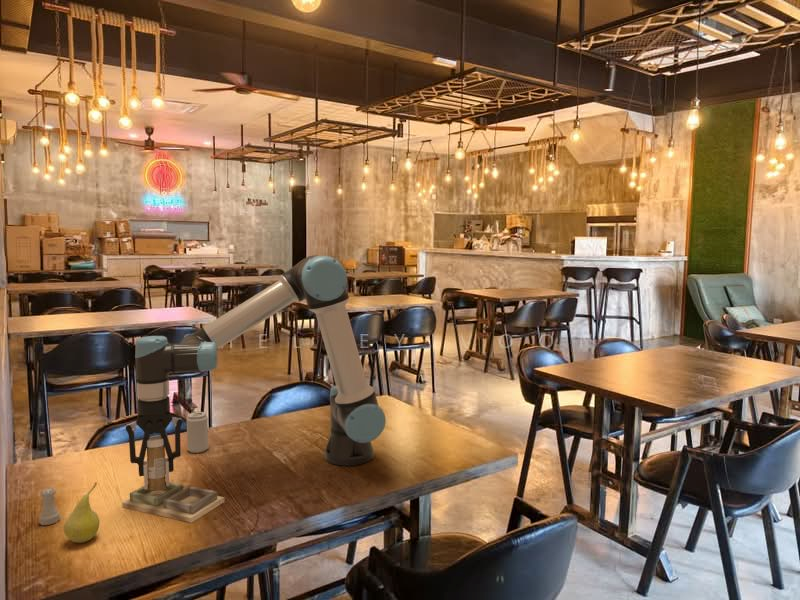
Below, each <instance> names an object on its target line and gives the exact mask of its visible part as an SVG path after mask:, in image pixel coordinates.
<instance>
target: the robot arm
mask: <svg viewBox="0 0 800 600" xmlns="http://www.w3.org/2000/svg"><path fill="white" fill-rule="evenodd" d="M347 283H348V275H347V271H346V269H345V267H344V266H343V265H342V264H341V262H339V261H338V260H337V259H335V258H334V257H333V256H332V257H331V256H328V255H322V254H321V255H309V256H307V257H305V258H303V259H302V260H300V261H299V262H298V263H296V264H295V265H294V266H292V267H291V268H289V269H288V270H287V271H285V272H284V273H282V274H280V276H279V279H278V280H277V281H276V282H274V283H273V284H271V285H269V286H268V287H266V288H265V289H263V290H261V291H260V292H258V293H256V294H255V295H253V296H252V297H250V298H248V299H246V300H245V301H244V302H242V303H240V304H238V305H237V306H236V307H234V308H232V309H231V310H228V311H227V312H225V313H224V314H223V315H220V316H219V317H217V318H216V319H214V320H212V322H210V323H208V324H206V325H204V326H203V327H202V328H200V329H198V330H197V331H194V332H193V333H189V334H187V335H186V336H184V337H183V338H182V340H181V341H180V342H179V343H169V341H168V337H166V336H164V335H150V336H149V335H148V336H144V337H143V336H142V337H139V338H137V340H136V341H135V351H134V352H135V355H134V359H135V360H134V361H135V372H136V373H135V375H136V378H135V379H136V397H137V398H138V400H137V401H136V402H137V403H136V404H137V417H136V418H135V419H136V420H135V421H133V422H128V423H126V424H125V431H126V433H127V434H128V445H129V460H130V463H131V464H136V465H138V477H143V486H144V490H145V489H148V475H147V460H145V457H146V454H147V441H148V439H149V437H150V435H153V434H159V435H161V437H162V439H163V441H164V447H165V454H166V456H167V457H165V465H166V475H165V476H166V486H170V485H169V482H170V473H172V472H174V469H175V468H174V467H175V466H174V465H175V464H174V460H175V459H176V458H179V457H180V456H181V455H182V454H181V428H182V425H183V418H182V417H181V416H179V417H174V416H173V415H172V414H171V403H170V402H171V401H170V396H169V395H170V377H169V374H179V373H195V372H196V373H197V372H202V373H205V372H208V371H214V370H216V369H217V368H218V350H219V349H221V348H222V347H225V345H227V344H229V343H231V342H232V341H234V340H236V339H237V338H239V337H240V336H242V335H243V334H245V333H247V332H248V331H249V330H251V329H253V328H254V327H256V326H258V325H260V324H261V323H262V322H264V321H266V320H267V319H269V318H270V317H273V316H274V315H275V314H276V313H279V312H280V311H282V310H283V309H285V308H287V307H288V306H290V305H291V304H292V303H298V304H299V303H300V302H302V301H303V300H305V301H306V305H307V308H308V311H309V312H312V313H314V314H315V317H316V320H317V323H318V324H317V325H318V327H319V330H320V333H321V337H322V341H323V343H324V348H325V351H326V354H327V357H328V361H329V365H330V369H331V372H332V376H333V379H334V383H335V385H334V386H332V387H331V388H330V391H329V392H330V395H329V401H330V402H329V403H330V404H329V406H330V408H329V409H330V413H329V414H330V415H329V416H330V418H329V419H330V434H329V438H328V441H327V443H326V447H325V449H324V456H325V457H324V459H325V461H326V462H327V463H329V464H332V465H337V466H343V467H345V466H347V467H348V466H350V467H351V465H352V466H359V465H358V464H360V465H363V463H364V464H367V463H369V462H370V461H372V460H373V459H372V458H374V447H373V444H372V442H373V441H375V440H376V439H378V438H379V437H380V436H381V435H382V432H383V431H384V430H385V427H386V421H387V419H386V415H385V412H384V410H383V409H382V408H381V406H380V405H379V402H378V398H377V394H376V391H375V389H374V387H373V386H371V385H369V384H368V383H367V379H366V375H365V372H364V368H363V364H362V360H361V357H360V354H359V351H358V350H359V349H358V347H357V342H356V338H355V335H354V331H353V328H352V324H351V320H350V316H349V314H348V310H347V307H346V305H347V304H348V302H349V300H350V297H349V292H348V290H347V289H348V288H347ZM171 423H172V426H173V427H174V448H175V449H174V451H172V447H171V443H170V441H169V436H168V434H167V430H166V429H167V428H168V426H169V425H170V424H171ZM137 426H138V427H139V428H140V430H142V431H143V437H142V441H141V446H140V451H139V455H138V456H137V454H136V453H137V452H136V438H135V437H136V435H135V431H136V430H137ZM371 459H372V460H371ZM368 461H369V462H368ZM366 462H367V463H366Z"/></svg>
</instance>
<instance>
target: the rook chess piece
mask: <svg viewBox="0 0 800 600" xmlns="http://www.w3.org/2000/svg"><path fill="white" fill-rule="evenodd" d="M56 493H57V491H56V490H55V488H54V486H53V487H51V486H49V487H48V488H47V487H44V488H43V489H41V493H40V494H39V495H40V497H41V498H42V499H41V502H42V507H41V509H42V510H41V512H40V514H39V516H38V519H39V520H38V524H40V525H41V526H51V525H53V524H56V523H58V522H59V521H60V519H61V513H60V511H59V510H58V508H57V507H56V503H55V501H56V500H55V499H56V497H55V494H56Z"/></svg>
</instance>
